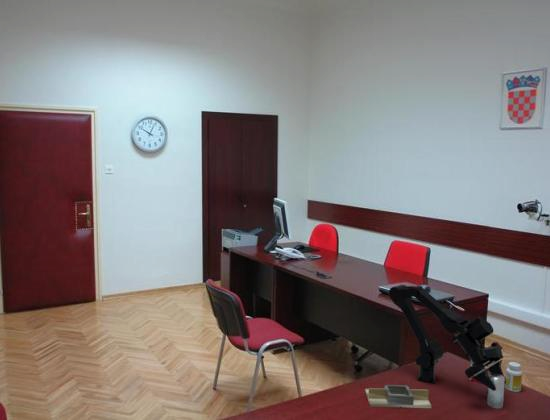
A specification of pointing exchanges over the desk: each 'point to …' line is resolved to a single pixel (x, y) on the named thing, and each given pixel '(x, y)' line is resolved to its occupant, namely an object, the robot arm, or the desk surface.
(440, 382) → the desk surface
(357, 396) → the desk surface
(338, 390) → the desk surface
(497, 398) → the silver metal cylinder
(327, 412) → the desk surface
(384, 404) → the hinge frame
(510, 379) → the supplement bottle
